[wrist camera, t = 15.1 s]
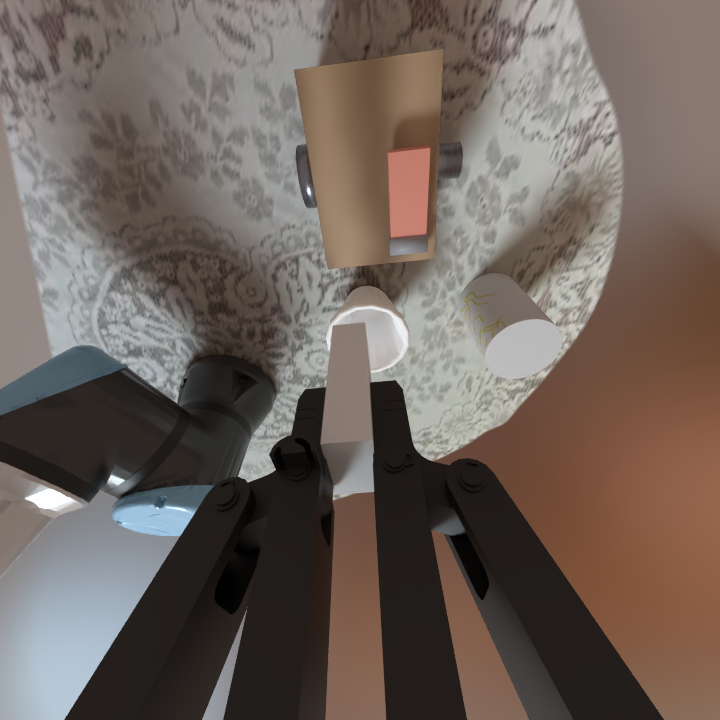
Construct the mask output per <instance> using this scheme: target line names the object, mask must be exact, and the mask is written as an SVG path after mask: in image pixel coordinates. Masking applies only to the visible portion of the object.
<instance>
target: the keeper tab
mask: <svg viewBox="0 0 720 720" xmlns="http://www.w3.org/2000/svg"><path fill="white" fill-rule="evenodd" d="M387 159H388V189H389V218H390V236H389V248H390V256H394V255H404V254H414V253H424V252H427V251H428V235H427V233H426V230H427V209H428V188H429V168H430V147H429V145H424V146H416V147H407V148H399V149H391V150H387Z"/></svg>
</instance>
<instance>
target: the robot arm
mask: <svg viewBox="0 0 720 720" xmlns="http://www.w3.org/2000/svg"><path fill="white" fill-rule="evenodd" d="M274 400H275V390H274V387H273V384H272V382H271V381H270V379H269V378H268V377H267V375H266V374H265V373H264V372H263V371H261V370H260V369H259V368H258V367H256V366H255V365H253V364H251V363H249V362H247V361H245V360H242V359H239V358H236V357H231V356H224V355H214V356H208V357H204V358H201V359H199V360H197V361H196V362H194V363H193V364H192V365H191V366H190V367H189V369H188V370H187V372H186V373H185V375H184V376H183V378H182V381H181V384H180V391H179V397H178V403H175V402H174V401H172V400H171V399H170V398H168V397H167V396H166V395H164V394H163V393H161V392H160V391H159V390H157V389H156V388H155V387H153V386H152V385H150V384H149V383H148V382H146V381H145V380H144V379H142V378H141V377H140V376H138V375H137V374H136V373H134V372H133V371H132V370H131V369H129V368H128V366H127V365H126V364H122V363H121V362H119V361H117V360H116V359H114V358H113V357H111V356H110V355H108V354H107V353H105V352H104V351H102V350H101V349H99V348H97V347H94V346H90V345H80V346H76V347H73V348H71V349H69V350H67V351H65V352H63V353H61V354H59V355H58V356H56V357H54V358H52V359H51V360H49V361H47V362H45V363H44V364H42V365H40V366H38V367H37V368H35V369H33V370H32V371H30V372H28V373H27V374H25V375H23V376H22V377H20V378H18V379H17V380H15V381H13V382H12V383H10V384H8V385H6V386H5V387H3V388H2V389H0V578H2V577H3V575H4V574H5V573H6V572H7V571H8V570H9V569H10V568H11V566H12V565H13V564H14V563H15V562H16V561H17V560H18V558H19V557H20V556H21V555H22V554H23V553H24V552H25V550H26V549H27V548H28V547H29V546H30V545H31V544H32V542H33V541H34V540H35V539H36V538H37V537H38V536H39V535H40V534H41V532H42V531H43V530H44V529H45V528H46V527H47V525H48V524H49V523H50V522H51V521H52V520H53V519H54V518H55V517H57V516H59V515H61V514H63V513H66V512H70V511H73V510H76V509H79V508H82V507H85V506H86V505H87V504H88V503H89V502H90V501H91V500H92V499H93V497H94V496H95V495H96V494H97V493H98V492H99V490H102V491H104V492H106V493H108V494H110V495H112V496H114V497H116V498H118V500H117V501H116V502H115V503H114V505H113V510H112V518H113V519H114V520H115V521H117V523H118V524H119V525H121V526H122V527H125V528H127V529H130V530H133V531H137V532H141V533H146V534H152V535H161V536H180V537H179V539H178V541H177V542H176V544H175V545H174V547H173V548H172V550H171V552H170V553H169V555H168V556H167V558H166V560H165V561H164V563H163V564H162V566H161V567H160V569H159V571H158V572H157V574H156V575H155V577H154V579H153V580H152V582H151V584H150V585H149V586H148V588H147V590H146V591H145V593H144V594H143V596H142V598H141V599H140V601H139V602H138V604H137V606H136V607H135V609H134V610H133V612H132V613H131V615H130V617H129V618H128V620H127V621H126V623H125V625H124V626H123V628H122V629H121V631H120V632H119V634H118V636H117V637H116V639H115V640H114V642H113V644H112V645H111V647H110V648H109V650H108V651H107V653H106V655H105V656H104V658H103V660H102V661H101V663H100V664H99V666H98V667H97V669H96V671H95V672H94V674H93V675H92V677H91V678H90V680H89V682H88V683H87V685H86V687H85V688H84V689H83V691H82V693H81V694H80V696H79V697H78V699H77V701H76V702H75V704H74V705H73V707H72V708H71V710H70V712H69V713H68V715H67V716H66V718H65V720H202V718H203V716H204V713H205V711H206V708H207V706H208V703H209V701H210V698H211V696H212V693H213V691H214V689H215V686H216V684H217V681H218V679H219V676H220V674H221V671H222V669H223V666H224V664H225V661H226V659H227V657H228V654H229V651H230V649H231V647H232V644H233V642H234V639H235V637H236V634H237V632H238V629H239V627H240V624H241V622H242V620H243V617H244V615H245V612H246V610H247V613H246V617H245V622H244V627H243V631H242V636H241V640H240V645H239V650H238V655H237V659H236V664H235V668H234V674H233V678H232V682H231V687H230V691H229V696H228V701H227V705H226V710H225V714H224V719H223V720H325V714H326V713H325V712H326V691H327V670H328V646H329V626H330V604H331V581H332V558H333V537H334V535H333V534H334V513H335V511H334V505H333V502H332V499H333V489H334V493H335V495H336V494H350V493H363V492H374V497H375V516H376V535H377V553H378V571H379V589H380V608H381V627H382V646H383V664H384V683H385V702H386V720H467V718H466V712H465V707H464V702H463V697H462V691H461V686H460V680H459V675H458V670H457V665H456V660H455V654H454V649H453V644H452V638H451V633H450V628H449V622H448V617H447V612H446V606H445V601H444V596H443V591H442V585H441V580H440V575H439V570H438V564H437V559H436V554H435V549H434V543H433V537H432V532H431V530H434V531H437V532H441V533H444V535H445V537H446V539H447V542H448V544H449V546H450V548H451V550H452V553H453V555H454V557H455V559H456V561H457V563H458V565H459V568H460V570H461V572H462V574H463V576H464V578H465V581H466V583H467V585H468V587H469V589H470V592H471V594H472V596H473V598H474V600H475V603H476V604H477V607H478V609H479V611H480V613H481V615H482V618H483V619H484V622H485V624H486V626H487V628H488V631H489V633H490V635H491V637H492V639H493V642H494V644H495V646H496V648H497V650H498V652H499V654H500V657H501V659H502V661H503V663H504V666H505V668H506V670H507V672H508V674H509V676H510V679H511V681H512V683H513V685H514V687H515V689H516V692H517V694H518V696H519V698H520V700H521V703H522V705H523V707H524V709H525V711H526V713H527V716H528V718H529V720H664V719H663V718H662V716H661V715H660V714H659V712H658V710H657V709H656V708H655V706H654V705H653V703H652V702H651V701H650V699H649V697H648V696H647V695H646V693H645V692H644V690H643V689H642V688H641V686H640V684H639V683H638V681H637V680H636V679H635V677H634V676H633V674H632V673H631V671H630V670H629V668H628V667H627V665H626V664H625V663H624V661H623V660H622V658H621V657H620V655H619V654H618V652H617V651H616V650H615V648H614V647H613V645H612V644H611V642H610V641H609V639H608V638H607V637H606V635H605V634H604V632H603V631H602V629H601V628H600V626H599V625H598V623H597V622H596V621H595V619H594V618H593V616H592V615H591V613H590V612H589V610H588V609H587V608H586V606H585V605H584V603H583V602H582V600H581V599H580V598H579V596H578V594H577V593H576V592H575V590H574V589H573V587H572V586H571V584H570V583H569V582H568V580H567V579H566V577H565V576H564V574H563V573H562V571H561V570H560V568H559V567H558V566H557V564H556V563H555V561H554V560H553V558H552V557H551V556H550V554H549V553H548V551H547V550H546V548H545V547H544V545H543V544H542V543H541V541H540V540H539V538H538V537H537V535H536V534H535V533H534V531H533V529H532V528H531V526H530V525H529V524H528V522H527V521H526V519H525V518H524V516H523V515H522V514H521V512H520V511H519V509H518V508H517V506H516V505H515V503H514V502H513V500H512V499H511V498H510V496H509V495H508V493H507V492H506V490H505V489H504V488H503V486H502V484H501V483H500V482H499V480H498V479H497V477H496V476H495V474H494V473H493V472H492V471H491V470H490V469H489V468H488V466H487V465H485V464H483V463H481V462H479V461H478V460H473V459H469V458H466V459H458V460H457V461H455V462H453V463H451V465H445V464H441V463H436V462H433V461H430V460H428V459H426V458H424V457H422V456H421V455H420V454H419V453H418V452H417V451H416V449H415V448H414V445H413V442H412V437H411V432H410V426H409V421H408V416H407V410H406V405H405V399H404V394H403V389H402V388H401V387H400V385H399V384H398V383H397V382H396V380H394V381H383V382H372V383H371V369H370V360H369V351H368V341H367V332H366V323H365V322H361V323H351V324H341V325H333V326H332V336H331V345H330V355H329V365H328V375H327V384H326V387H325V388H314V389H305V391H304V392H303V393H302V395H301V396H300V398H299V399H298V404H297V409H296V414H295V421H294V424H293V429H292V434H291V435H290V436H287V437H285V438H283V439H281V440H280V441H278V442H277V443H276V444H275V445H274V446H273V448H272V450H271V452H270V454H269V455H270V458H271V460H272V462H273V464H274V466H275V468H276V470H275V471H274V472H273V473H271V474H269V475H267V476H264V477H262V478H259V479H257V480H254V481H251V482H249V483H247V481H246V480H245V479H242V478H240V477H238V474H239V471H240V468H241V465H242V463H243V460H244V457H245V454H246V451H247V448H248V445H249V442H250V439H251V436H252V434H253V433H254V432H255V431H256V429H257V428H258V427H259V426H260V424H261V423H262V422H263V421H264V420H265V419H266V418H267V416H268V415H269V414H270V412H271V410H272V407H273V403H274ZM247 607H248V608H247Z"/></svg>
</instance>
